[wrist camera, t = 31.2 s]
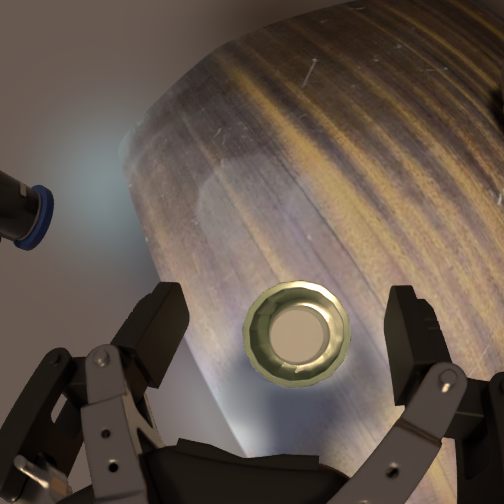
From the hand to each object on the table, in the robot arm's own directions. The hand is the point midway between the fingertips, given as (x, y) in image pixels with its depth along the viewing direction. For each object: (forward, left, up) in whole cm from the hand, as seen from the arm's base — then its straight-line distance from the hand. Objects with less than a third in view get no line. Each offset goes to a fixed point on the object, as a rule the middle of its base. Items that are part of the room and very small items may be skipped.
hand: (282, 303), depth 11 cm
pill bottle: (-1, -1, -16) cm, 16 cm away
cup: (-1, -1, -16) cm, 16 cm away
